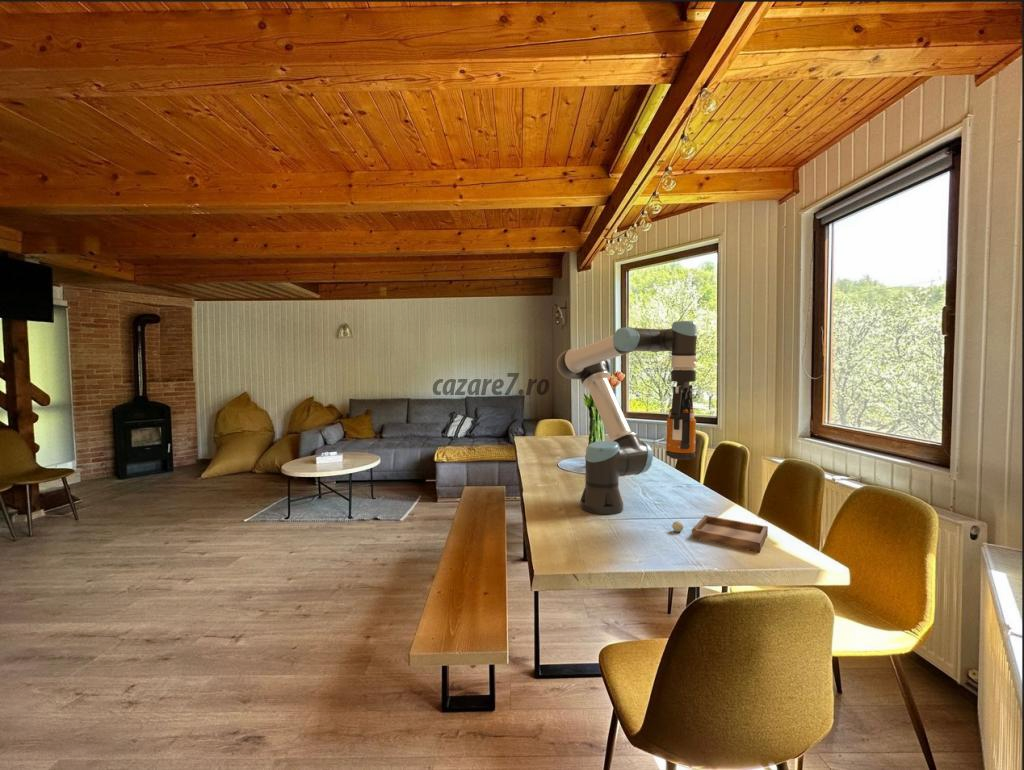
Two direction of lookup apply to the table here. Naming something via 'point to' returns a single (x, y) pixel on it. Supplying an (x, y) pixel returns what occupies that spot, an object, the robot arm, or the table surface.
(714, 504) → the table surface
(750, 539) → the tray
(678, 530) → the ball
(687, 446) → the canister
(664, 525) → the table surface
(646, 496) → the table surface
